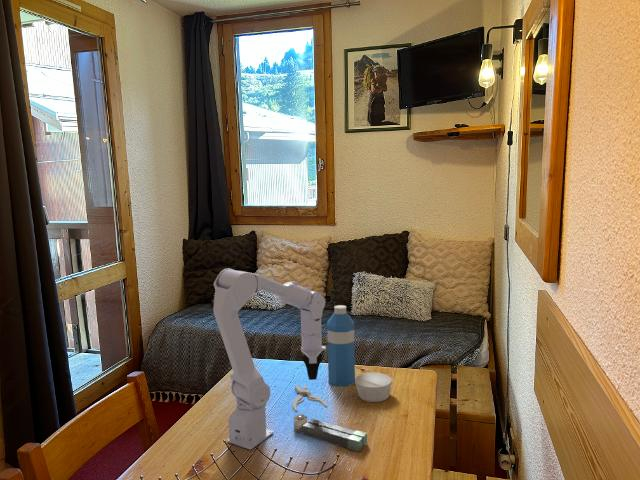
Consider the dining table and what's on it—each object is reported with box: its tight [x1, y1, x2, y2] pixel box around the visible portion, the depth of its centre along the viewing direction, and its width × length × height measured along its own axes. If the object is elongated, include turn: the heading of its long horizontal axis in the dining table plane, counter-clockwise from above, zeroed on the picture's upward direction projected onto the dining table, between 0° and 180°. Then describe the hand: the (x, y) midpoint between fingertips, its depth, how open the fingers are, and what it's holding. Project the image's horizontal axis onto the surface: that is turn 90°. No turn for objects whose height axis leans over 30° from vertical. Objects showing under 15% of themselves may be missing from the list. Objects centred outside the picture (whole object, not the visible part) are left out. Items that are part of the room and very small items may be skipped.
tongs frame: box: [293, 413, 364, 453], centre depth 122 cm, size 4×20×4 cm, turn 58°
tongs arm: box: [307, 418, 368, 448], centre depth 122 cm, size 2×16×3 cm, turn 58°
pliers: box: [292, 384, 328, 412], centre depth 145 cm, size 10×2×15 cm
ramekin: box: [354, 372, 393, 403], centre depth 146 cm, size 11×11×5 cm
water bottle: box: [326, 304, 356, 387], centre depth 156 cm, size 9×9×25 cm
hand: (312, 378), depth 136 cm, fingers closed
